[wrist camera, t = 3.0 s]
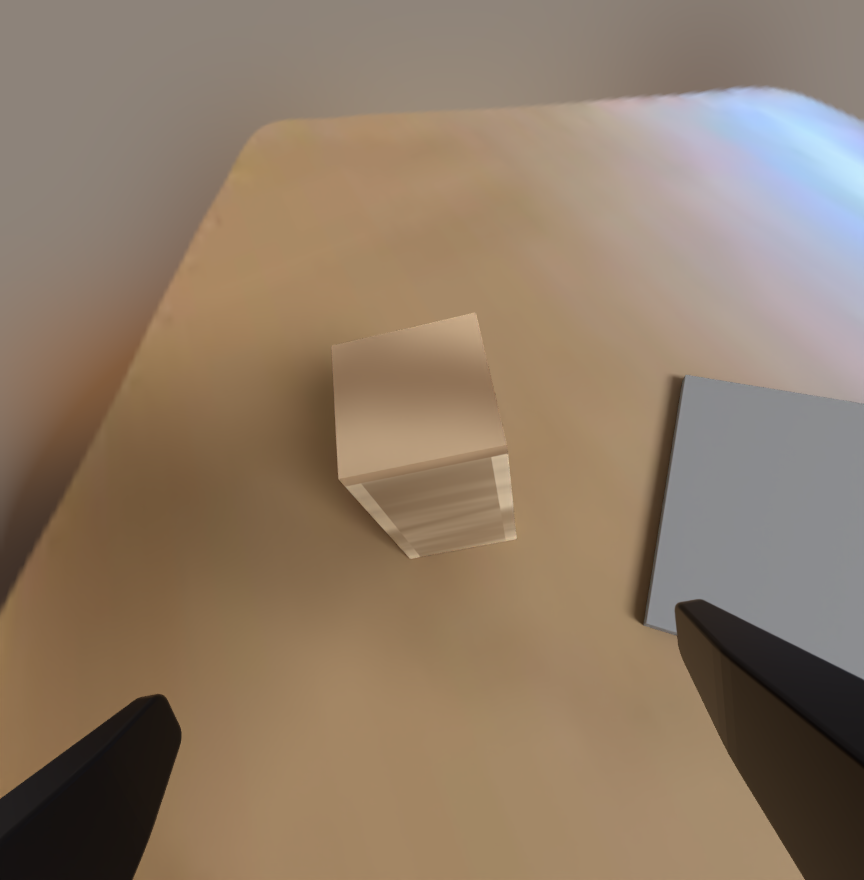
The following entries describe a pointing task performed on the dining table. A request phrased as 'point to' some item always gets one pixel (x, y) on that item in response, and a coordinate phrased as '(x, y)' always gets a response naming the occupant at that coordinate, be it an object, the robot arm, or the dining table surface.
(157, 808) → the robot arm
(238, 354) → the dining table surface
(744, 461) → the mat
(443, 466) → the beige tall block
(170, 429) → the dining table surface
